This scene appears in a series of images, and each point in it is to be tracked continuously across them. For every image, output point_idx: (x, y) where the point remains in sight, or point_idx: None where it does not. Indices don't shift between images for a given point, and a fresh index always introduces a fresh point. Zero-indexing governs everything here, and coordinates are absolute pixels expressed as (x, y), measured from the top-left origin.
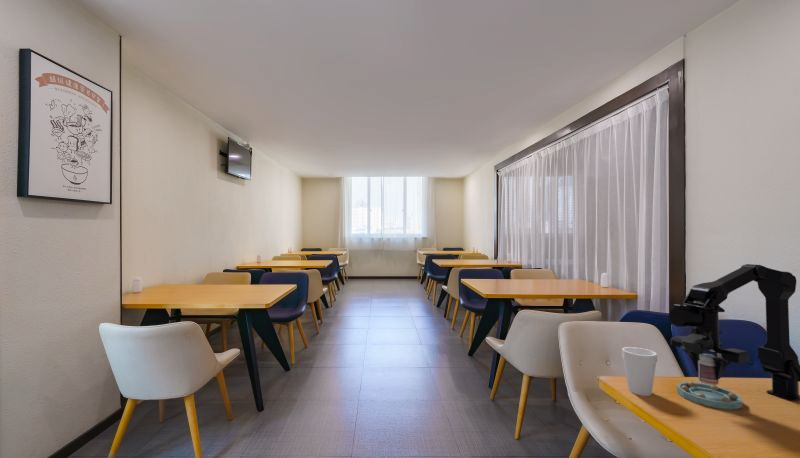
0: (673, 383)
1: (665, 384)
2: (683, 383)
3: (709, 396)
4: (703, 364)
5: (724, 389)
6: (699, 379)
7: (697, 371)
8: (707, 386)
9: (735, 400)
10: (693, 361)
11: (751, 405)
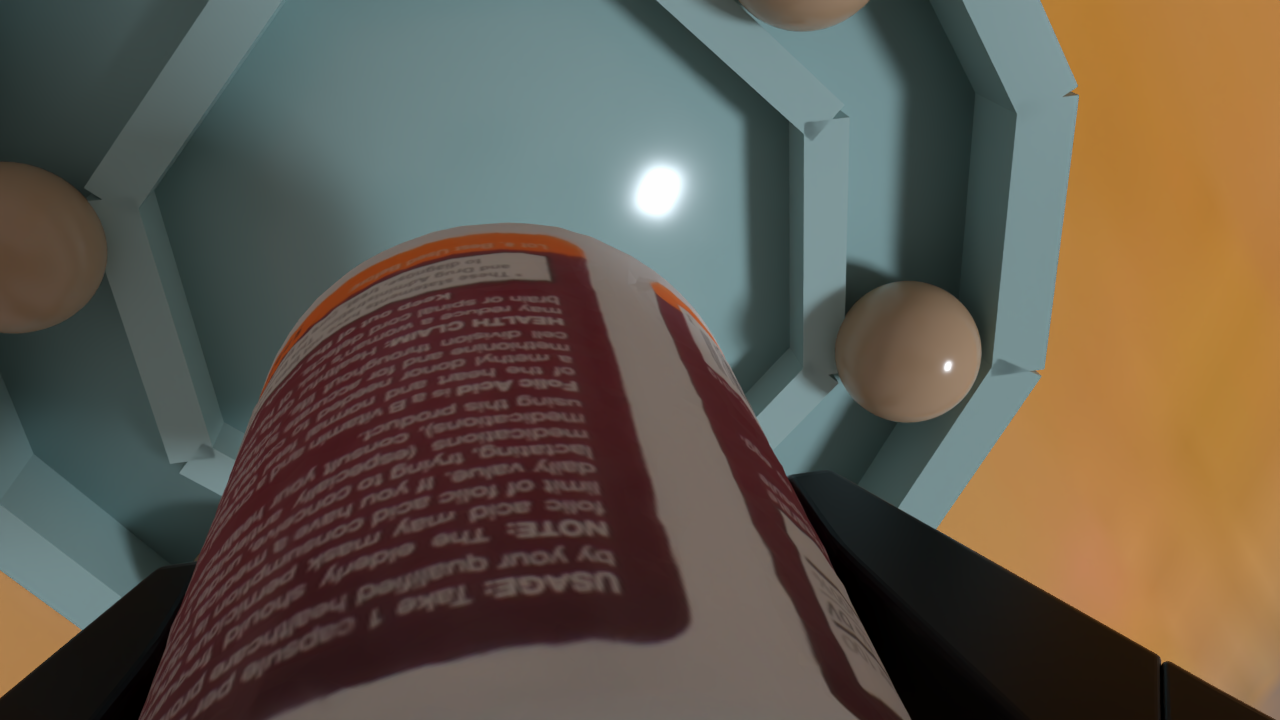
0: (1215, 264)
1: (1273, 38)
2: (1015, 209)
3: None
4: (406, 682)
5: None
6: (612, 259)
7: (832, 492)
8: None
9: None
10: (1142, 697)
11: None
